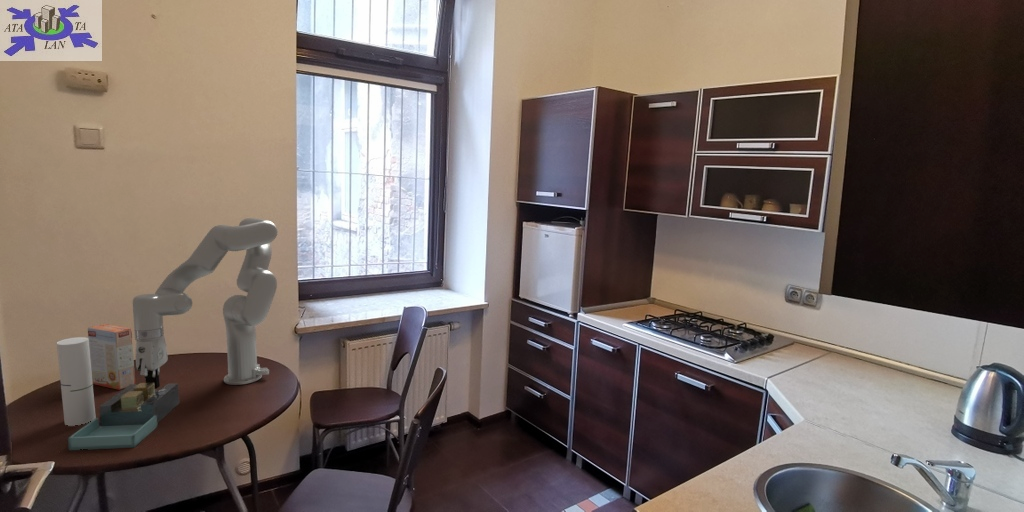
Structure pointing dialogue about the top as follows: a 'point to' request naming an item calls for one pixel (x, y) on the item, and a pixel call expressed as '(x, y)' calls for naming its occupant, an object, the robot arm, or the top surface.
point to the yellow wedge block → (146, 389)
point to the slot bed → (153, 406)
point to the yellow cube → (132, 400)
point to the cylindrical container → (76, 380)
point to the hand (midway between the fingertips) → (153, 387)
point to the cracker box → (111, 356)
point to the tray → (110, 435)
